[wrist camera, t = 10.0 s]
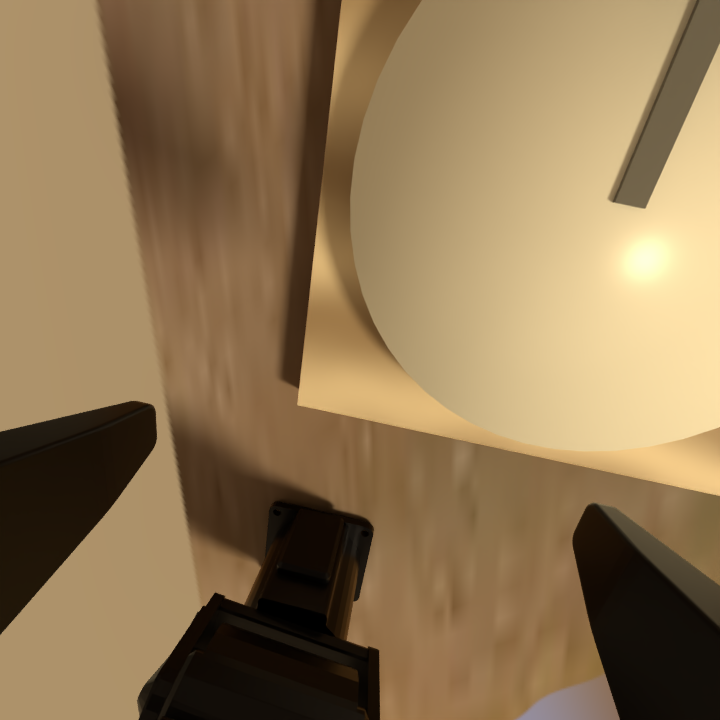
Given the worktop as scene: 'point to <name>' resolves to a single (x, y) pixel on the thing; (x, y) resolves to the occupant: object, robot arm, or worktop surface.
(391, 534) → the worktop surface
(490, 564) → the worktop surface
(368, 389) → the base plate
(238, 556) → the worktop surface
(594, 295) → the dial
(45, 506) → the robot arm
